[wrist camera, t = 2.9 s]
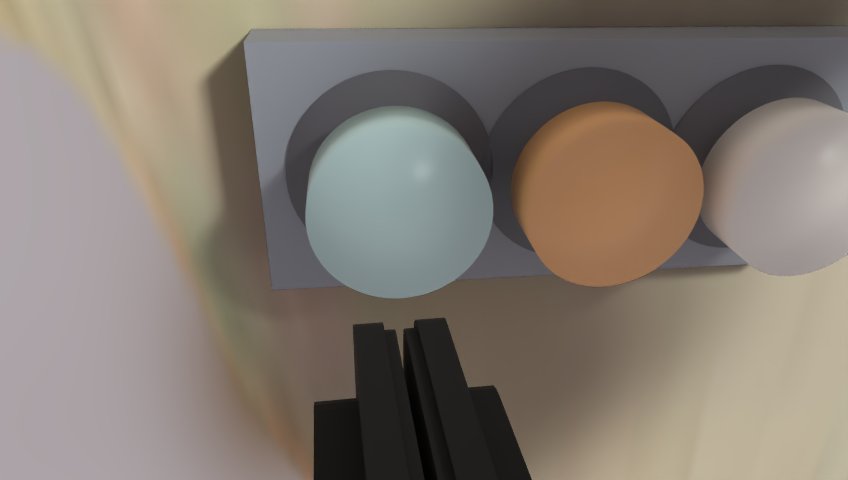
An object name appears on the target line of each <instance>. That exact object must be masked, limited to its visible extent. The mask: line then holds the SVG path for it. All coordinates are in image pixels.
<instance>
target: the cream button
mask: <svg viewBox="0 0 848 480" xmlns="http://www.w3.org/2000/svg"><path fill="white" fill-rule="evenodd" d="M701 170H702V174H703V182H704V195H703V201H702V207H701V210H700V216H701V218H702V220H703V222H704V223H705V225H706V226H707V228H708V229H709V230H710V231H711V232H712V233H713V234H714V235H715V236H717V237H718V238H719V239H720V240H721V241H722V242H724V243H725V244H726V245H727V246H728V247H729V248H731V249H732V250H733V251H734V252H735V253H736V254H737V255H739V256H740V257H741V258H742V259H743V260H744V261H746V262H747V263H748V264H749V265H751V266H752V267H753V268H755V269H757V270H759V271H761V272H764V273H767V274H771V275H777V276H794V275H802V274H806V273H810V272H813V271H816V270H819V269H822V268H824V267H826V266H829V265H831V264H833V263H834V262H836V261H838V260H840V259H841V258H843V257H844V256H846V255H847V254H848V113H847V112H844V111H842V110H839V109H837V108H834V107H832V106H829V105H827V104H824V103H822V102H819V101H817V100H813V99H808V98H785V99H781V100H776V101H773V102H770V103H767V104H764V105H762V106H760V107H758V108H756V109H754V110H752V111H751V112H749V113H747V114H746V115H744V116H743V117H742V118H740V119H739V120H738V121H736V122H735V123H734V124H733V125H732V126H731V127H730V128H728V129H727V130H726V131H725V132H724V134H723V135H722V136H721V137H720V138H719V139H718V141H717V142H716V143H715V145H714V146H713V147H712V149H711V151H710V152H709V154H708V156H707V158H706V160H705V162H704V164H703V166H702V169H701Z"/></svg>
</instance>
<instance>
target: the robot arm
mask: <svg viewBox="0 0 848 480" xmlns="http://www.w3.org/2000/svg"><path fill="white" fill-rule="evenodd" d="M353 339H354V361H355V382H356V398H353V399H342V400H332V401H321V402H314V480H532V479H531V477H530V474H529V471H528V469H527V466H526V464H525V461H524V458H523V456H522V453H521V451H520V448H519V446H518V443H517V440H516V438H515V435H514V433H513V430H512V427H511V425H510V422H509V420H508V417H507V414H506V412H505V409H504V407H503V404H502V401H501V399H500V396H499V394H498V392H497V390H496V388H495V387H494V386H482V387H471V388H468V386H467V383H466V380H465V377H464V374H463V371H462V368H461V365H460V362H459V359H458V356H457V352H456V349H455V346H454V343H453V340H452V337H451V334H450V331H449V328H448V325H447V322H446V319H445V318H434V319H421V320H415V321H414V328H407V329H404V334H403V366H402V361H401V356H400V351H399V346H398V341H397V336H396V331H395V329H394V330H384V325H383V322H381V323H368V324H355V325H353Z"/></svg>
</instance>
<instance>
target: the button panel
mask: <svg viewBox="0 0 848 480" xmlns="http://www.w3.org/2000/svg"><path fill="white" fill-rule="evenodd" d="M243 43H244V52H245V61H246V69H247V78H248V87H249V95H250V104H251V112H252V121H253V130H254V138H255V147H256V155H257V164H258V173H259V181H260V190H261V198H262V207H263V216H264V224H265V233H266V241H267V250H268V259H269V267H270V276H271V284H272V290H284V289H302V288H320V287H339V286H346V285H344V284H343V283H341V282H340V281H338V280H337V279H336V278H335V277H333V276H332V275H331V274H330V273H329V272H328V271H327V270H326V269H325V268H324V267H323V265H322V264H321V263H320V261H319V260H318V258H317V257H316V255H315V253H314V251H313V249H312V247H311V245H310V242H309V239H308V235H307V230H306V222H305V211H306V200H307V189H308V179H309V172H310V168H311V165H312V161H313V159H314V157H315V155H316V152H317V150H318V149H319V147H320V146H321V144H322V143H323V141H324V140H325V139H326V138H327V136H328V135H329V134H330V133H331V132H332V131H333V130H334V129H335V128H336V127H338V126H339V125H340V124H341V123H343V122H344V121H346V120H347V119H349V118H351V117H353V116H355V115H357V114H359V113H361V112H364V111H367V110H370V109H374V108H378V107H384V106H408V107H413V108H418V109H421V110H425V111H428V112H430V113H432V114H434V115H436V116H439V117H440V118H442V119H443V120H445V121H446V122H448V123H449V124H450V125H451V126H453V127H454V128H455V129H456V130H457V131H458V132H459V133H460V135H461V136H462V137H463V138H464V140H465V141H466V143H467V144H468V146H469V147H470V149H471V151H472V153H473V154H474V156H475V158H476V160H477V161H478V163H479V165H480V167H481V169H482V170H483V172H484V174H485V176H486V178H487V181H488V183H489V186H490V190H491V193H492V199H493V220H492V227H491V230H490V234H489V237H488V239H487V242H486V244H485V246H484V248H483V250H482V251H481V253H480V255H479V256H478V258H477V259H476V260H475V261H474V263H473V264H472V265H471V266H470V267H469V268H468V269H467V270H466V271H465V272H464V273H463V274H462V275H460V276H459V277H458V278H457V279H455V280H467V279H485V278H504V277H522V276H540V275H555V274H554V273H553V272H552V271H551V270H549V269H548V268H547V267H546V266H545V265H544V263H543V262H542V261H541V260H540V258H539V257H538V255H537V254H536V252H535V250H534V248H533V247H532V245H531V243H530V242H529V240H528V238H527V236H526V235H525V233H524V231H523V230H522V228H521V226H520V224H519V223H518V221H517V218H516V216H515V214H514V211H513V207H512V202H511V181H512V175H513V171H514V168H515V165H516V162H517V160H518V158H519V156H520V154H521V152H522V150H523V149H524V147H525V145H526V144H527V143H528V141H529V140H530V139H531V137H532V136H533V135H534V134H535V133H536V132H537V131H538V130H539V129H540V128H541V127H542V126H543V125H544V124H546V123H547V122H548V121H549V120H551V119H552V118H554V117H555V116H557V115H558V114H560V113H562V112H564V111H566V110H568V109H570V108H573V107H576V106H579V105H582V104H587V103H591V102H602V101H605V102H617V103H622V104H626V105H629V106H632V107H634V108H636V109H638V110H640V111H642V112H643V113H645V114H646V115H648V116H649V117H651V118H652V119H654V120H655V121H657V122H658V123H660V124H661V125H663V126H664V127H666V128H667V129H669V130H670V131H672V132H673V133H675V134H676V135H677V136H679V137H680V138H681V139H683V140H684V141H685V142H686V143H687V144H688V145H689V146H690V148H691V149H692V151H693V152H694V154H695V155H696V157H697V159H698V161H699V164H700V166H701V169H702V166H703V164H704V162H705V160H706V158H707V156H708V154H709V152H710V151H711V149H712V147H713V146H714V145H715V143H716V142H717V141H718V139H719V138H720V137H721V136H722V135H723V134H724V132H725V131H726V130H727V129H728V128H730V127H731V126H732V125H733V124H734V123H735V122H736V121H738V120H739V119H740V118H742V117H743V116H744V115H746V114H747V113H749V112H751V111H752V110H754V109H756V108H758V107H760V106H762V105H764V104H767V103H770V102H773V101H776V100H781V99H785V98H808V99H813V100H817V101H819V102H822V103H824V104H827V105H829V106H832V107H834V108H837V109H839V110H842V111H844V112H847V113H848V26H765V27H581V28H396V29H251V31H250V33H249V34H248V36H247V37H246V39H245V40H244V42H243ZM742 264H748V263H747V262H746V261H744V260H743V259H742V258H741V257H740V256H739V255H737V254H736V253H735V252H734V251H733V250H732V249H731V248H729V247H728V246H727V245H726V244H725V243H724V242H722V241H721V240H720V239H719V238H718V237H717V236H715V235H714V234H713V233H712V232H711V231H710V230H709V229H708V228H707V226H706V225H705V223H704V222H703V220H702V218H701V216H700V213H699V216H698V219H697V221H696V223H695V225H694V228H693V229H692V231H691V233H690V234H689V236H688V238H687V239H686V240H685V242H684V243H683V244H682V246H681V247H680V248H679V249H678V250H677V251H676V252H675V253H674V254H673V255H672V256H671V257H670V258H669V259H668V260H667V261H666V262H664V263H663V264H662V265H660V266H659V267H657V268H656V269H669V268H687V267H705V266H723V265H742Z"/></svg>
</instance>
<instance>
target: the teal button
mask: <svg viewBox="0 0 848 480" xmlns="http://www.w3.org/2000/svg"><path fill="white" fill-rule="evenodd" d="M492 220H493V199H492V193H491V190H490V186H489V183H488V181H487V178H486V176H485V174H484V172H483V170H482V169H481V167H480V165H479V163H478V161H477V160H476V158H475V156H474V154H473V153H472V151H471V149H470V147H469V146H468V144H467V143H466V141H465V140H464V138H463V137H462V136H461V135H460V133H459V132H458V131H457V130H456V129H455V128H454V127H453V126H451V125H450V124H449V123H448V122H446V121H445V120H443V119H442V118H440V117H439V116H436V115H434V114H432V113H430V112H428V111H425V110H421V109H418V108H413V107H408V106H384V107H378V108H374V109H370V110H367V111H364V112H361V113H359V114H357V115H355V116H353V117H351V118H349V119H347V120H346V121H344V122H343V123H341V124H340V125H339V126H338V127H336V128H335V129H334V130H333V131H332V132H331V133H330V134H329V135H328V136H327V138H326V139H325V140H324V141H323V143H322V144H321V146H320V147H319V149H318V150H317V152H316V155H315V157H314V159H313V161H312V165H311V168H310V172H309V179H308V189H307V200H306V211H305V222H306V230H307V235H308V239H309V242H310V245H311V247H312V249H313V251H314V253H315V255H316V257H317V258H318V260H319V261H320V263H321V264H322V265H323V267H324V268H325V269H326V270H327V271H328V272H329V273H330V274H331V275H332V276H333V277H335V278H336V279H337V280H338V281H340V282H341V283H343V284H344V285H346V286H348V287H350V288H352V289H354V290H356V291H358V292H361V293H364V294H367V295H371V296H375V297H381V298H409V297H415V296H420V295H424V294H427V293H430V292H433V291H435V290H438V289H440V288H442V287H444V286H446V285H447V284H449V283H451V282H452V281H454V280H455V279H457V278H458V277H459V276H460V275H462V274H463V273H464V272H465V271H466V270H467V269H468V268H469V267H470V266H471V265H472V264H473V263H474V261H475V260H476V259H477V258H478V256H479V255H480V253H481V251H482V250H483V248H484V246H485V244H486V242H487V239H488V237H489V234H490V230H491V227H492Z"/></svg>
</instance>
